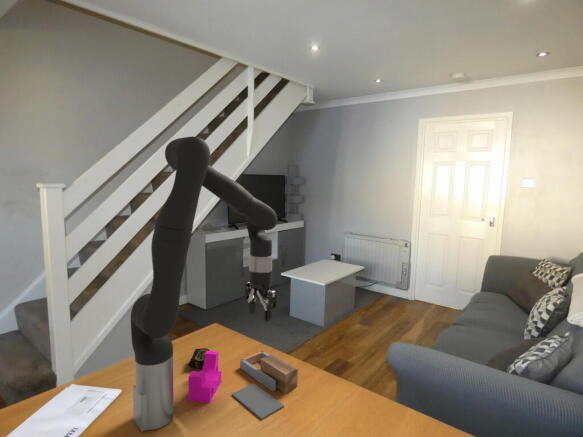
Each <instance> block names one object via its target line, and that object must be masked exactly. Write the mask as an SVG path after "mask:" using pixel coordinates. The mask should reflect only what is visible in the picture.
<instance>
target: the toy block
mask: <svg viewBox="0 0 583 437" xmlns="http://www.w3.org/2000/svg"><path fill="white" fill-rule="evenodd" d="M201 369H202V370H201V371H195V370H192V371H191V372H190V374H189V375H188V401H189V402H199V403H207V404H208V403H209V404H210V403H211V401H212V400H213V398H214V396H215V394H216V393H217V391H218V389H219V387H220V385H221V383H222V371H220V370H219V351H216V350H210V351H207V352H206V353H205V359H204V365H203V368H201Z"/></svg>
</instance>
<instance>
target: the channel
mask: <svg viewBox="0 0 583 437" xmlns="http://www.w3.org/2000/svg"><path fill="white" fill-rule="evenodd" d="M269 355H270V354H269V353H267V352H266V351H264V350H260V351H259V352H256V353H253V354H251V355H248V356H246V357H244V358H241V359H240V361H239V364H240V365H239V366H240V369H241V370H243V371H244V372H245V373H247V374H248V375H249V376H250V377H252V378H254V379H255V380H256V381H257V382H259V383H260V384H262V385H263V386H264V387H265V388H267V389H268V390H270V391H271V392H275V391H277V390H276V388H277V387H276V381H275V380H274V379H272V378H271V377H269V376H268V375H266V374H265V373H263V372H262V371H260V369H259V368H257V367H256V366H254V365H253V364H256V363H258V362H261V359H262V358H264V357H266V356H269Z"/></svg>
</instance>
